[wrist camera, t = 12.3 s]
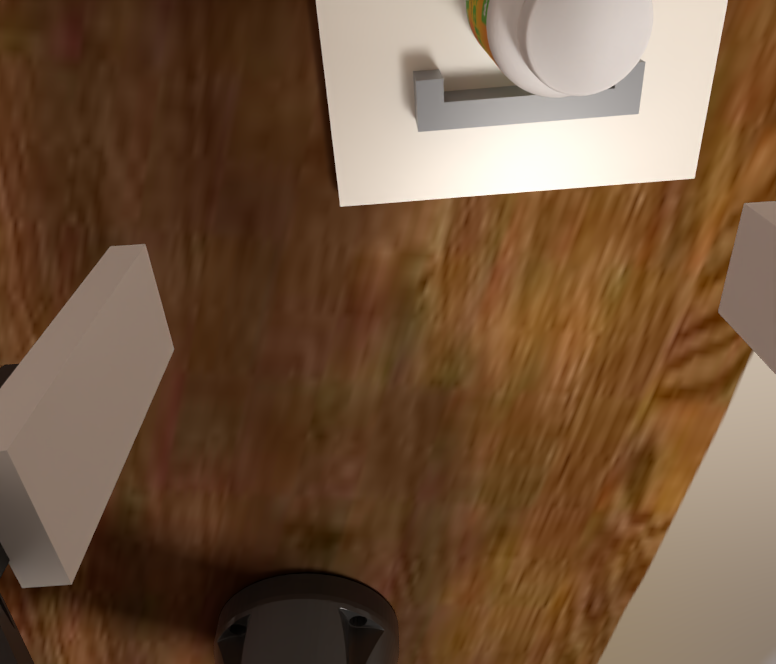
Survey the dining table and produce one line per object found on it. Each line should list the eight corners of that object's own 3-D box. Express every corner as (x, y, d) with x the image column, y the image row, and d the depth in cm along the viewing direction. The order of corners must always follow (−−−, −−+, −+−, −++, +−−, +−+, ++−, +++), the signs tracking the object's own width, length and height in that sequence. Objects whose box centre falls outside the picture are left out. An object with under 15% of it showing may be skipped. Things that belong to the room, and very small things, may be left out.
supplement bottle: (462, -73, 27) (505, -64, 19) (594, -84, 27) (692, -79, 19) (463, 66, 30) (500, 125, 22) (581, 56, 30) (662, 112, 22)
